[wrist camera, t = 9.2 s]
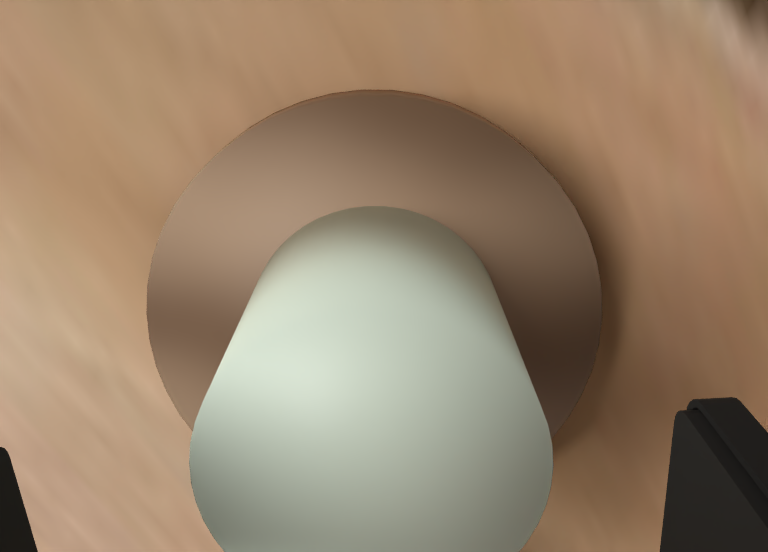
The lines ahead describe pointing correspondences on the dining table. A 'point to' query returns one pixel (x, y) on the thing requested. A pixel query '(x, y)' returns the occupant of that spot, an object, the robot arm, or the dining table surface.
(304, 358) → the pale green rounded cylinder
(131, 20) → the dining table surface
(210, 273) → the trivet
